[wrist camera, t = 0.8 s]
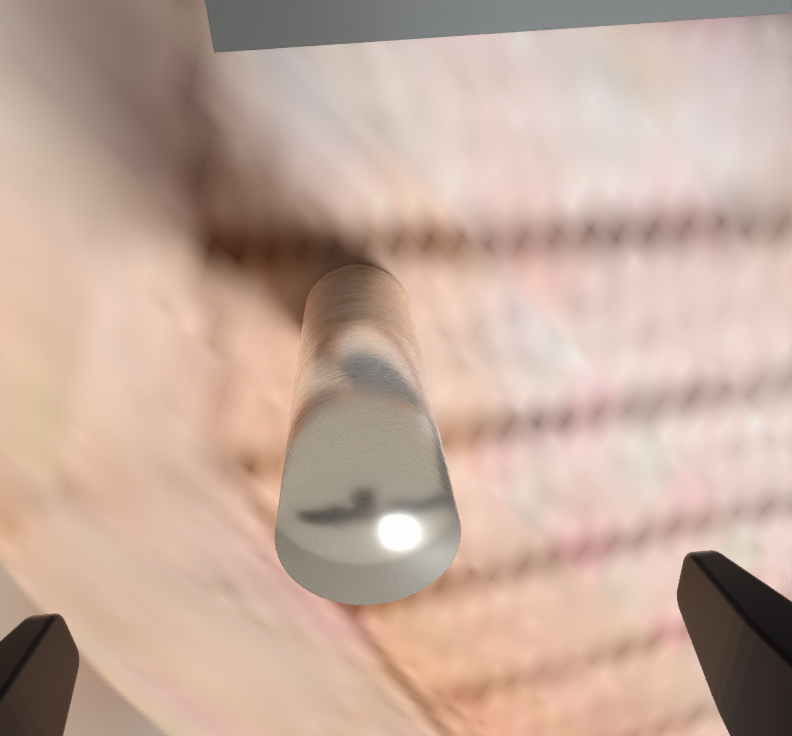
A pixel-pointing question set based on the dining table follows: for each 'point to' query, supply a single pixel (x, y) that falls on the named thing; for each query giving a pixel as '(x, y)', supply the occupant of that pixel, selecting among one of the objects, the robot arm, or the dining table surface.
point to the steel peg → (363, 450)
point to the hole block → (442, 18)
